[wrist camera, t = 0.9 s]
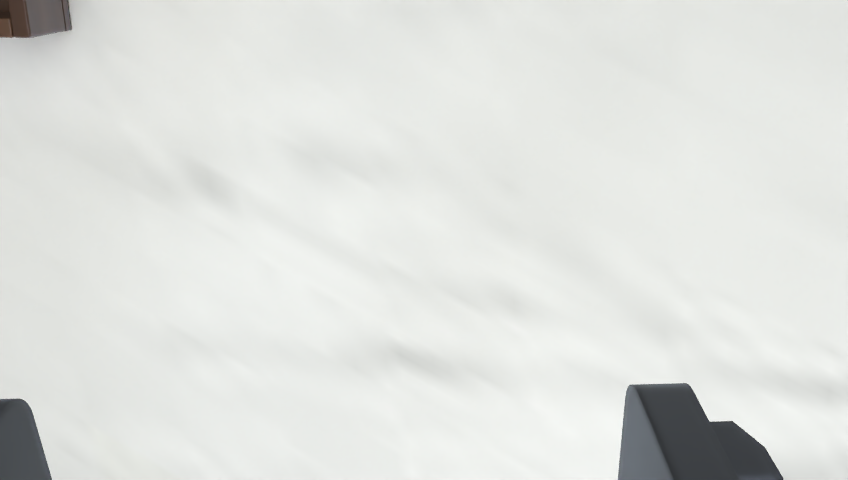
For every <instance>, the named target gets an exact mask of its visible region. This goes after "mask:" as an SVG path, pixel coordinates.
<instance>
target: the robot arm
mask: <svg viewBox="0 0 848 480" xmlns="http://www.w3.org/2000/svg"><path fill="white" fill-rule="evenodd" d="M0 480H52V478H51V475H50V471H49V468H48V464H47V461H46V458H45V454H44V451H43V447H42V444H41V440H40V437H39V434H38V430H37V427H36V423H35V420H34V416H33V413H32V410H31V408H30V406H29V405H28V404H27V402H25V401H24V400H22V399H0ZM618 480H783V477H782V475H781V474H780V472H779V470H778V469H777V467H776V465H775V464H774V462H773V460H772V459H771V457H770V455H769V454H768V452H767V450H766V449H765V447H764V446H762V445H761V444H760V443H759V442H757V441H756V440H755V439H754V438H753V437H751V436H750V435H749V434H748V433H746V432H745V431H744V430H743V429H741V428H740V427H739V426H738V425H737V424H735V423H734V422H733V421H723V422H709V420H708V418H707V416H706V415H705V413H704V411H703V409H702V407H701V405H700V403H699V401H698V399H697V397H696V395H695V394H694V392H693V390H692V388H691V387H690V386H689V385H688V384H687V383H680V384H641V385H630V386H629V387H628V389H627V392H626V397H625V407H624V418H623V429H622V440H621V451H620V463H619V474H618Z"/></svg>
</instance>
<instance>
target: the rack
mask: <svg viewBox="0 0 848 480" xmlns="http://www.w3.org/2000/svg"><path fill="white" fill-rule="evenodd" d="M69 30H71V23H70V16H69V9H68V1H67V0H0V37H9V38H12V37H16V38H32V37H37V36H42V35H47V34H52V33H57V32H63V31H69Z"/></svg>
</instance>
